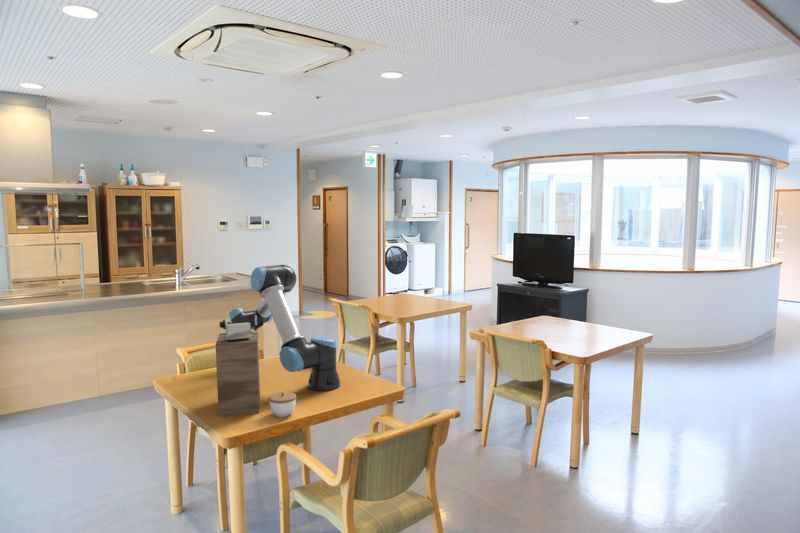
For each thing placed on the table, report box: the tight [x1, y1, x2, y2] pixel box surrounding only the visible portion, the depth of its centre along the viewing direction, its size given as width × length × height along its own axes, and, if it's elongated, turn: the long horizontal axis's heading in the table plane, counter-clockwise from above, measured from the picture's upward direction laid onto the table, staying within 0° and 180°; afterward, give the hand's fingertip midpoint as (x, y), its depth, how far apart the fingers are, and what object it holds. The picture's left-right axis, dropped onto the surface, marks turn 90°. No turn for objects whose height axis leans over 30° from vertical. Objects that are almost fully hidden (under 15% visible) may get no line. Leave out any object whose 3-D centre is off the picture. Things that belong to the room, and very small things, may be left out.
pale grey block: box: [225, 322, 252, 340], centre depth 235 cm, size 28×9×6 cm, turn 26°
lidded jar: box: [268, 391, 297, 418], centre depth 222 cm, size 11×11×9 cm
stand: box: [215, 330, 261, 417], centre depth 230 cm, size 19×16×30 cm
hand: (240, 318), depth 255 cm, fingers open, 13 cm apart
